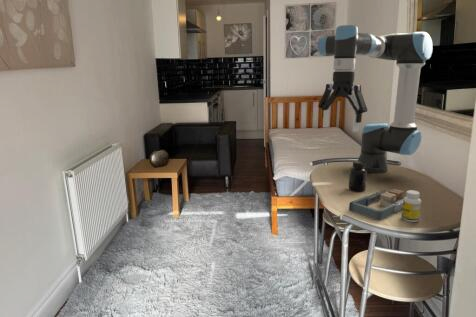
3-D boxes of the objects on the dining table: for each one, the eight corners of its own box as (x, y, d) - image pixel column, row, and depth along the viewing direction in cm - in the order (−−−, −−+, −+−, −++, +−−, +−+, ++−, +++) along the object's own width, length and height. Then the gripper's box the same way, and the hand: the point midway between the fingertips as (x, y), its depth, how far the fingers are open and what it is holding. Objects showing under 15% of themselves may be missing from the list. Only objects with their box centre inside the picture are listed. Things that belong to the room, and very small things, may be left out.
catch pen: (365, 203, 137) (366, 195, 136) (395, 212, 128) (396, 204, 127) (349, 210, 130) (349, 202, 129) (379, 220, 121) (380, 212, 121)
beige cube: (385, 201, 138) (386, 192, 137) (395, 204, 135) (396, 194, 134) (379, 204, 136) (380, 194, 135) (389, 207, 133) (390, 197, 132)
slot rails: (382, 195, 144) (382, 190, 144) (412, 204, 135) (412, 198, 135) (362, 204, 136) (363, 197, 135) (393, 213, 127) (393, 207, 126)
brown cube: (393, 198, 142) (394, 188, 141) (403, 201, 139) (404, 191, 138) (387, 200, 139) (388, 190, 139) (397, 203, 136) (398, 193, 136)
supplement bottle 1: (366, 192, 148) (368, 164, 145) (349, 191, 149) (351, 163, 146) (364, 187, 155) (366, 160, 152) (347, 186, 156) (349, 159, 153)
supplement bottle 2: (398, 216, 125) (401, 189, 122) (413, 215, 125) (416, 189, 123) (406, 222, 119) (409, 195, 117) (422, 222, 120) (425, 194, 117)
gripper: (310, 70, 137) (308, 125, 143) (368, 71, 118) (363, 134, 123) (323, 70, 142) (320, 124, 147) (381, 70, 122) (375, 132, 128)
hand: (340, 129), depth 135 cm, fingers open, 13 cm apart
